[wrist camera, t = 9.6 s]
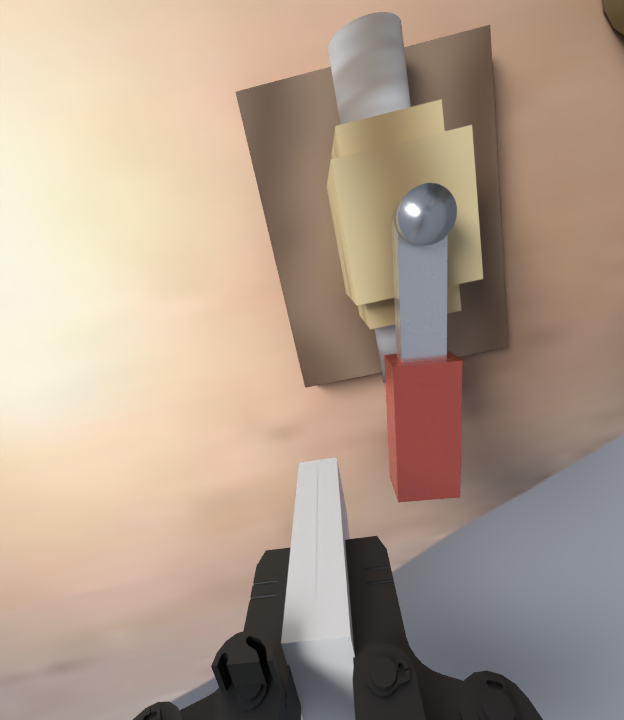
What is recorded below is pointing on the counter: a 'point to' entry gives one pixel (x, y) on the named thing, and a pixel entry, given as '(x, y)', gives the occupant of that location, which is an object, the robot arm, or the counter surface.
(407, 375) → the lever
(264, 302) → the counter surface
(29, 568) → the counter surface
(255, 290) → the counter surface
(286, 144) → the valve board
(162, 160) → the counter surface
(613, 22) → the squeeze bottle
